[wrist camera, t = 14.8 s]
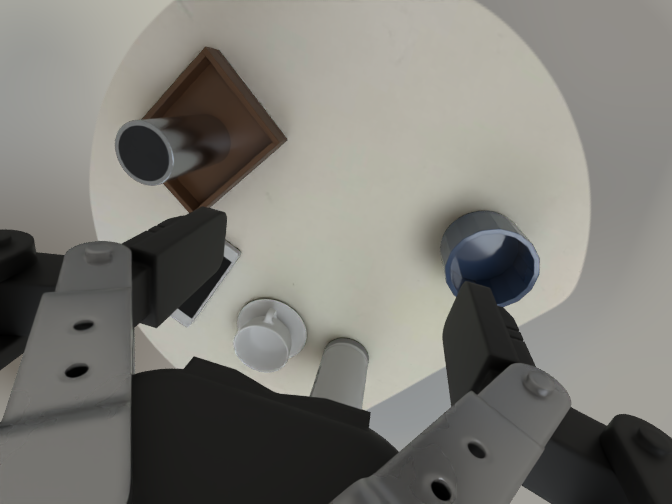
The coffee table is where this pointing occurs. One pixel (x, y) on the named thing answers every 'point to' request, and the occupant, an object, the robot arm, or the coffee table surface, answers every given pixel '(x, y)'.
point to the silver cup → (171, 146)
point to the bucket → (489, 256)
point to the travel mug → (342, 373)
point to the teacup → (268, 335)
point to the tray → (233, 111)
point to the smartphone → (206, 289)
